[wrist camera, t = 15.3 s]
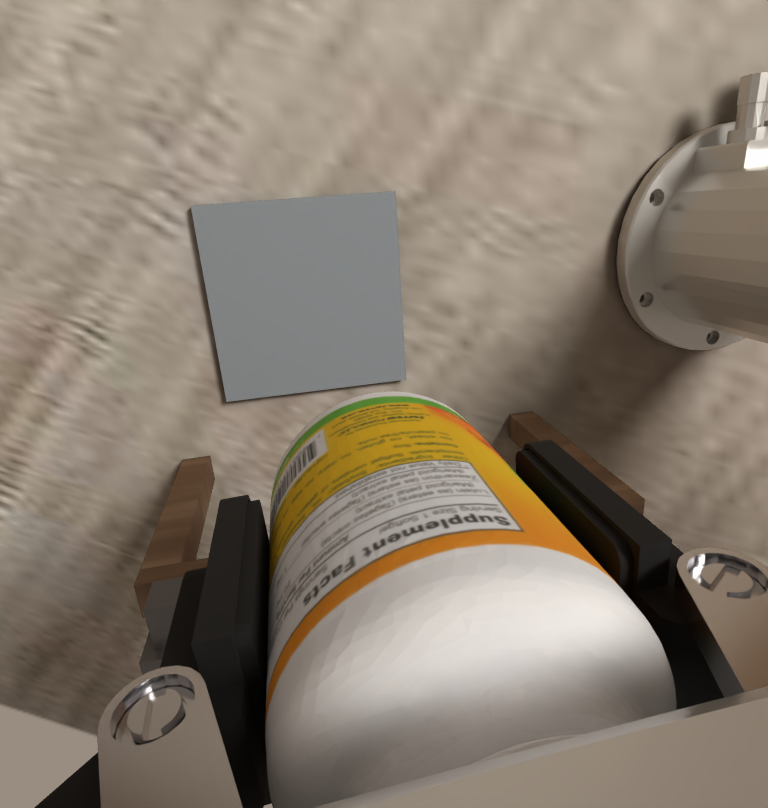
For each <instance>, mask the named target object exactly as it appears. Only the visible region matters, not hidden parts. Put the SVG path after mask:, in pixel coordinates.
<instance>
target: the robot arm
mask: <svg viewBox="0 0 768 808" xmlns="http://www.w3.org/2000/svg"><path fill="white" fill-rule="evenodd" d="M767 103H768V72H763V73H756V74H751V75H746V76H743V77H741V79H740V86H739V93H738V100H737V106H738V110H737V117H736V121H734V122H729V123H724V124H718V125H715V126H712V127H709V128H706V129H703V130H701V131H698V132H696V133H694V134H693V135H691V136H689V137H687V138H686V139H684V140H682V141H681V142H679V143H678V144H676V145H675V146H674V147H673V148H672V149H671V150H669V151H668V152H667V153H666V154H665V155H663V156H662V157H661V158H660V159H659V160H658V162H657V163H656V164H655V165H654V166H653V168H652V169H651V170H650V171H649V172H648V173H647V175H646V176H645V177H644V179H643V181H642V182H641V184H640V186H639V187H638V189H637V191H636V192H635V194H634V195H633V197H632V200H631V202H630V205H629V207H628V209H627V212H626V214H625V216H624V219H623V223H622V227H621V231H620V235H619V239H618V249H617V262H616V263H617V274H618V283H619V287H620V290H621V294H622V297H623V301H624V303H625V305H626V307H627V308H628V310H629V312H630V314H631V316H632V317H633V319H634V320H635V321H636V322H637V323H638V324H639V326H640V327H641V328H642V329H643V330H644V331H646V332H647V333H648V334H650V335H651V336H653V337H654V338H656V339H657V340H660V341H662V342H665V343H667V344H670V345H672V346H676V347H680V348H684V349H688V350H710V349H716V348H721V347H725V346H727V345H730V344H733V343H735V342H738V341H741V340H742V339H744V338H749V339H753V340H757V341H761V342H764V343H768V121H765V115H766V109H767ZM516 474H517V475H518V476H519V477H520V478H521V479H522V480H523V482H524V483H525V484H526V485H527V486H528V487H529V488H530V489H531V490H532V491H533V492H534V494H535V495H536V496H537V497H538V498H539V499H540V500H541V501H542V502H543V503H544V504H545V506H546V507H547V508H548V509H549V510H550V511H551V512H552V513H553V514H554V515H555V516H556V518H557V519H558V520H559V521H560V522H561V523H562V524H563V525H564V526H565V527H566V528H567V530H568V531H569V532H570V533H571V534H572V535H573V536H574V537H575V538H576V539H577V541H578V542H579V543H580V544H581V545H582V546H583V547H584V548H585V549H586V550H587V551H588V552H589V554H590V555H591V556H592V557H593V558H594V559H595V560H596V561H597V562H598V563H599V564H600V565H601V567H602V568H603V569H604V570H605V571H606V572H607V573H608V574H609V575H610V576H611V577H612V578H613V580H614V581H615V582H616V583H617V584H618V585H619V586H620V588H621V589H622V590H623V591H624V592H625V593H626V595H627V596H628V597H629V598H630V599H631V601H632V602H633V603H634V604H635V605H636V607H637V608H638V609H639V610H640V611H641V613H642V614H643V615H644V616H645V618H646V619H647V620H648V622H649V623H650V625H651V627H652V628H653V630H654V631H655V633H656V635H657V636H658V638H659V640H660V642H661V644H662V646H663V649H664V651H665V654H666V657H667V659H668V662H669V664H670V668H671V672H672V675H673V679H674V685H675V692H676V710H675V711H671V712H667V713H663V714H659V715H656V716H652V717H648V718H644V719H640V720H636V721H633V722H629V723H625V724H621V725H617V726H614V727H610V728H606V729H602V730H599V731H595V732H591V733H587V734H584V735H580V736H576V737H572V738H568V739H565V740H561V741H557V742H553V743H550V744H546V745H542V746H538V747H535V748H531V749H527V750H523V751H520V752H516V753H512V754H509V755H505V756H501V757H497V758H494V759H490V760H486V761H482V762H479V763H475V764H471V765H467V766H464V767H460V768H456V769H452V770H449V771H445V772H441V773H438V774H434V775H430V776H427V777H423V778H419V779H416V780H412V781H409V782H405V783H401V784H398V785H394V786H390V787H387V788H383V789H379V790H376V791H372V792H368V793H365V794H361V795H357V796H354V797H350V798H346V799H343V800H339V801H335V802H332V803H328V804H324V805H321V806H317V807H313V808H768V567H767V566H766V565H764V564H762V563H761V562H759V561H757V560H756V559H754V558H752V557H749V556H747V555H744V554H742V553H739V552H735V551H731V550H727V549H722V548H709V547H707V548H697V549H693V550H690V551H688V552H685V553H683V552H681V551H680V550H679V549H678V548H677V547H675V546H674V545H673V544H672V539H670V538H669V537H668V536H667V535H666V534H664V533H663V532H662V531H661V530H660V529H658V528H657V527H656V526H655V525H654V524H652V523H651V522H650V521H649V520H648V519H646V518H645V517H644V516H643V515H642V514H640V513H639V512H638V511H637V510H636V509H634V508H633V507H632V506H631V505H630V504H628V503H627V502H626V501H625V500H624V499H622V498H621V497H620V496H619V495H618V494H616V493H615V492H614V491H613V490H612V489H610V488H609V487H608V486H607V485H606V484H604V483H603V482H602V481H601V480H600V479H598V478H597V477H596V476H595V475H593V474H592V473H591V472H590V471H589V470H587V469H586V468H585V467H584V466H583V465H581V464H580V463H579V462H578V461H577V460H575V459H574V458H573V457H572V456H571V455H569V454H568V453H567V452H566V451H565V450H563V449H562V448H561V447H560V446H559V445H557V444H556V443H555V442H554V441H552V440H550V439H549V440H543V441H538V442H532V443H527V444H525V445H524V446H523V450H522V451H519V452H517V454H516ZM269 550H270V549H269V539H268V534H267V529H266V525H265V520H264V516H263V511H262V507H261V503H260V500H255V501H250V498H249V496H248V495H244V496H239V497H233V498H228V499H222V500H220V503H219V508H218V513H217V518H216V523H215V528H214V533H213V538H212V543H211V548H210V553H209V558H208V563H207V567H204V568H199V569H194V570H189V571H187V572H185V574H184V577H183V580H182V584H181V588H180V592H179V596H178V599H177V603H176V607H175V611H174V615H173V619H172V623H171V626H170V630H169V634H168V638H167V642H166V646H165V650H164V653H163V657H162V661H161V665H160V668H159V669H156V670H153V671H150V672H147V673H145V674H144V675H142V676H140V677H138V678H137V679H135V680H133V681H131V682H130V683H129V684H128V685H127V686H125V687H124V688H123V689H122V690H120V691H119V692H118V693H117V694H116V695H115V697H114V698H113V699H112V700H111V701H110V703H109V704H108V705H107V706H106V708H105V710H104V712H103V714H102V716H101V718H100V720H99V726H98V732H97V740H98V753H97V754H96V755H95V756H93V757H92V758H91V759H90V760H89V761H88V762H86V763H85V764H84V765H83V766H82V767H81V768H79V770H77V771H76V772H75V773H74V774H73V775H71V776H70V777H69V778H68V779H67V780H66V781H65V782H64V783H62V784H61V785H60V786H59V787H58V788H57V789H55V790H54V791H53V792H52V793H51V794H50V795H49V796H47V797H46V798H45V799H44V800H43V801H42V802H40V803H39V804H38V805H37V806H36V807H35V808H262V807H263V806H264V805H267V804H271V803H272V802H271V798H270V791H269V784H268V775H267V759H266V742H265V714H266V681H267V646H268V597H269Z"/></svg>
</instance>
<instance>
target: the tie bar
mask: <svg viewBox="0 0 768 808" xmlns="http://www.w3.org/2000/svg"><path fill="white" fill-rule="evenodd" d="M183 577H184V576H183ZM183 577H178V578H172V579H166V580H160V581H154V582H152V585H151V588H150V591H149V594H148V597H147V600H146V603H145V606H144V609H143V611H144V615H145V618H146V622H147V625H148V629H149V634H148V637H147V641H146V644H145V647H144V650H143V653H142V657H141V660H140V663H139V664H140V667H141V671H142V674H143V675H144V674H145V673H147V672H150V671H153V670H156V669H159V668H160V665H161V661H162V657H163V653H164V650H165V646H166V642H167V638H168V634H169V630H170V626H171V623H172V619H173V615H174V611H175V607H176V603H177V599H178V596H179V592H180V588H181V584H182V580H183Z"/></svg>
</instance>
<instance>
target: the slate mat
mask: <svg viewBox="0 0 768 808" xmlns="http://www.w3.org/2000/svg"><path fill="white" fill-rule="evenodd" d="M191 211H192V216H193V222H194V227H195V233H196V238H197V244H198V249H199V255H200V260H201V265H202V271H203V276H204V282H205V287H206V293H207V298H208V304H209V309H210V315H211V320H212V326H213V331H214V336H215V342H216V347H217V353H218V358H219V364H220V369H221V375H222V380H223V386H224V391H225V396H226V402H230V401H238V400H246V399H254V398H262V397H270V396H278V395H286V394H294V393H302V392H310V391H318V390H327V389H335V388H343V387H351V386H359V385H367V384H375V383H383V382H391V381H399V380H406V368H405V351H404V333H403V316H402V298H401V281H400V263H399V246H398V228H397V211H396V193H395V191H394V192H379V193H365V194H351V195H336V196H322V197H308V198H294V199H279V200H265V201H251V202H236V203H222V204H208V205H193V206H191Z"/></svg>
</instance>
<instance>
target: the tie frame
mask: <svg viewBox="0 0 768 808" xmlns="http://www.w3.org/2000/svg"><path fill="white" fill-rule="evenodd" d="M509 437H510V438H511V439H512V440H513V441H514V442H515V443H516V444H517V445H518V446H519V447H520V448H521V449H522V450H523V446H524V445H525V444H527V443H532V442H538V441H543V440H549V439H550V440H552V441H554V442H555V443H556V444H557V445H559V446H560V447H561V448H562V449H563V450H565V451H566V452H567V453H568V454H569V455H571V456H572V457H573V458H574V459H575V460H577V461H578V462H579V463H580V464H581V465H583V466H584V467H585V468H586V469H587V470H589V471H590V472H591V473H592V474H593V475H595V476H596V477H597V478H598V479H600V480H601V481H602V482H603V483H604V484H606V485H607V486H608V487H609V488H610V489H612V490H613V491H614V492H615V493H616V494H618V495H619V496H620V497H621V498H622V499H624V500H625V501H626V502H627V503H628V504H630V505H631V506H632V507H633V508H634V509H636V510H637V511H638V512H639V513H640V514H642V515H643V510H644V501H645V499H644V498H642V497H641V496H640V495H639V494H637V493H636V492H635V491H634V490H632V489H631V488H630V487H628V486H627V485H626V484H625V483H623V482H622V481H621V480H619V479H618V478H617V477H616V476H614V475H613V474H612V473H611V472H609V471H608V470H607V469H605V468H604V467H603V466H602V465H600V464H599V463H598V462H596V461H595V460H594V459H593V458H591V457H590V456H589V455H587V454H586V453H585V452H584V451H582V450H581V449H580V448H579V447H577V446H576V445H575V444H573V443H572V442H571V441H570V440H568V439H567V438H566V437H564V436H563V435H562V434H561V433H559V432H558V431H557V430H556V429H554V428H553V427H552V426H550V425H549V424H548V423H547V422H545V421H544V420H543V419H541V418H540V417H539V416H538V415H536V414H535V413H534V412H533V411H532V412H525V413H518V414H511V415H510V427H509ZM214 480H215V478H214V473H213V468H212V463H211V458H210V456H206V457H198V458H191V459H184V460H182V463H181V465H180V468H179V470H178V473H177V476H176V478H175V481H174V483H173V486H172V488H171V491H170V494H169V496H168V499H167V501H166V504H165V507H164V509H163V512H162V514H161V517H160V519H159V522H158V525H157V527H156V530H155V532H154V535H153V537H152V540H151V543H150V545H149V548H148V550H147V553H146V555H145V558H144V561H143V563H142V566H141V568H140V571H139V574H138V576H137V579H136V581H135V584H134V588H135V592H136V595H137V599H138V603H139V606H140V610H141V613H142V617H143V618H144V617H145V615H144V611H143V609H144V606H145V603H146V600H147V597H148V594H149V591H150V588H151V585H152V582H154V581H160V580H166V579H172V578H178V577H183V576H184V574H185V572H187V571H189V570H194V569H199V568H204V567H207V563H208V558H205V559H199V560H196V556H197V552H198V547H199V543H200V539H201V535H202V531H203V526H204V522H205V518H206V514H207V510H208V506H209V501H210V497H211V493H212V489H213V485H214ZM262 808H263V807H262Z"/></svg>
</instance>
